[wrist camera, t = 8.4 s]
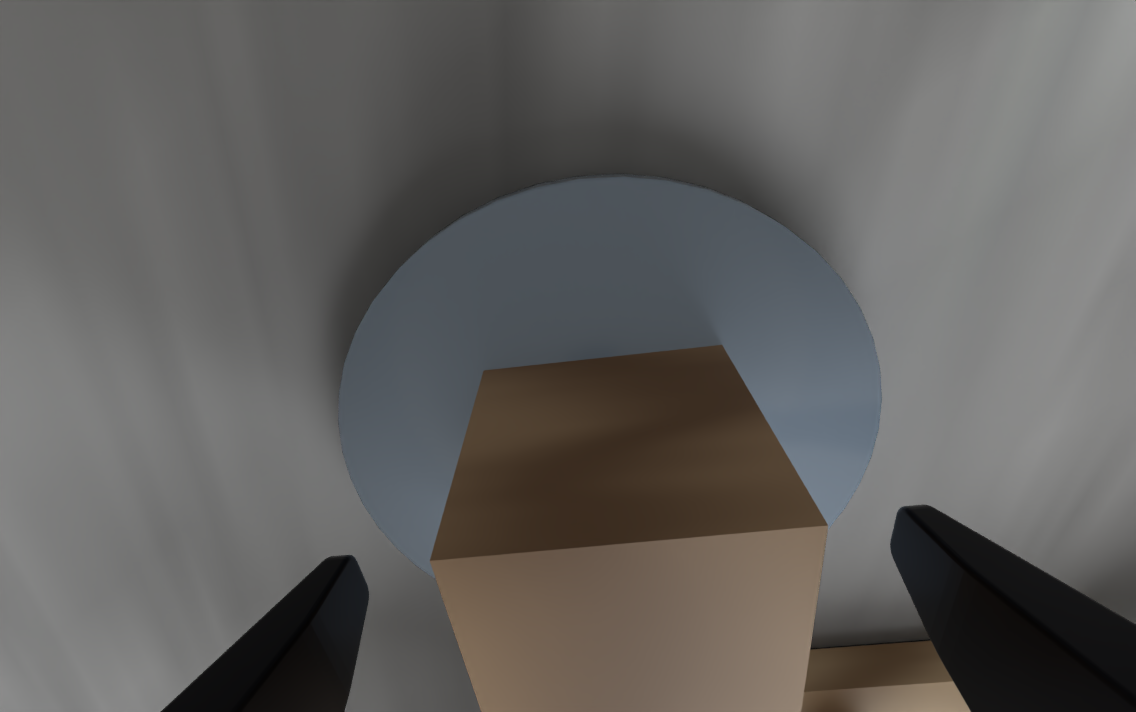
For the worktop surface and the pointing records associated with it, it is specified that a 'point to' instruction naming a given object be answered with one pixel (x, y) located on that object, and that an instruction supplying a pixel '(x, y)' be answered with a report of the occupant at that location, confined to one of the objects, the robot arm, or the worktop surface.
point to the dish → (601, 331)
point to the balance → (880, 680)
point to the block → (629, 541)
